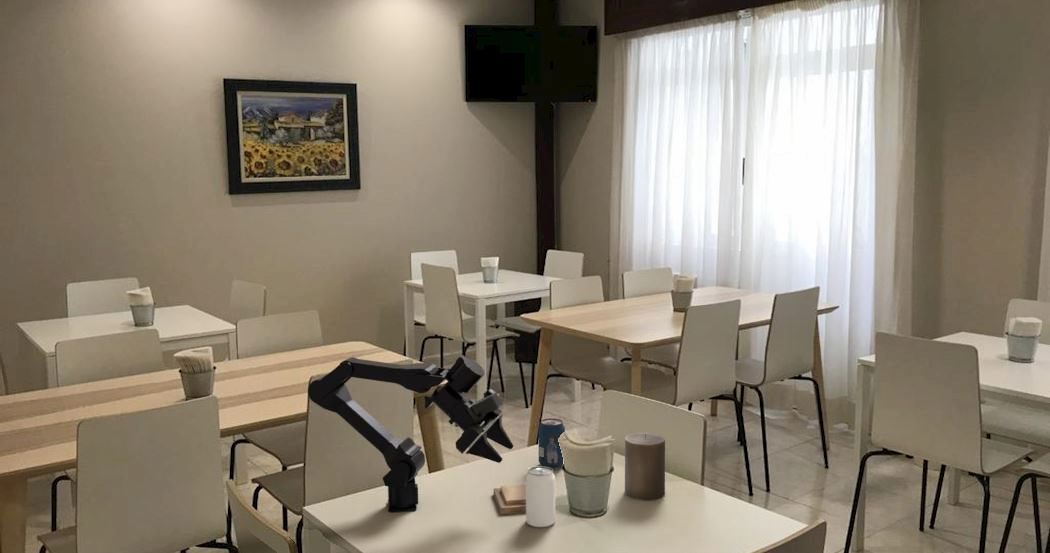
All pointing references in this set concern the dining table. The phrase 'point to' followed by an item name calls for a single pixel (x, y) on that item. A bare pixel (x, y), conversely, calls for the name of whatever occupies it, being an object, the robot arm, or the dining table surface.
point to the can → (540, 497)
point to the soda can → (550, 443)
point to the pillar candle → (645, 466)
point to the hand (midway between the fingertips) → (506, 454)
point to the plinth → (511, 499)
